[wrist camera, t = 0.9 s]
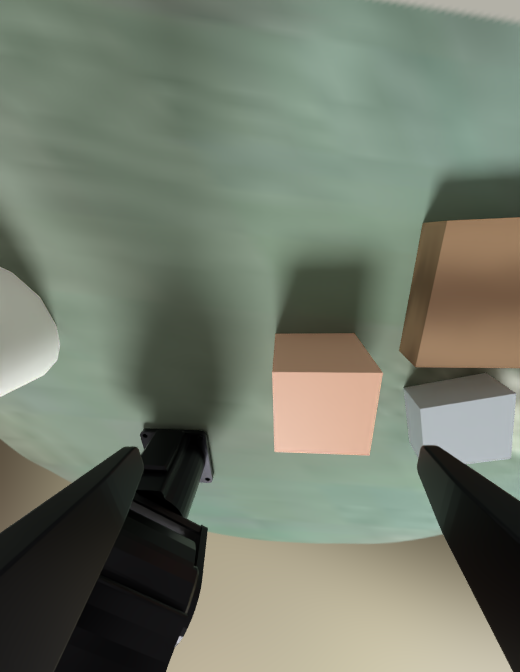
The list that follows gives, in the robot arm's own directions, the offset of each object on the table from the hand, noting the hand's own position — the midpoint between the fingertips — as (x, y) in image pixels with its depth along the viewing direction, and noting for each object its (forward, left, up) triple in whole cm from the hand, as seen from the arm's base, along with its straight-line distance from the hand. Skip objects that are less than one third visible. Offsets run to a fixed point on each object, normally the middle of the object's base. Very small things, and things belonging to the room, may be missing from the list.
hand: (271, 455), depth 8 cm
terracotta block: (-4, -3, -12) cm, 13 cm away
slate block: (-8, -14, -13) cm, 20 cm away
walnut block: (+2, -14, -13) cm, 19 cm away
